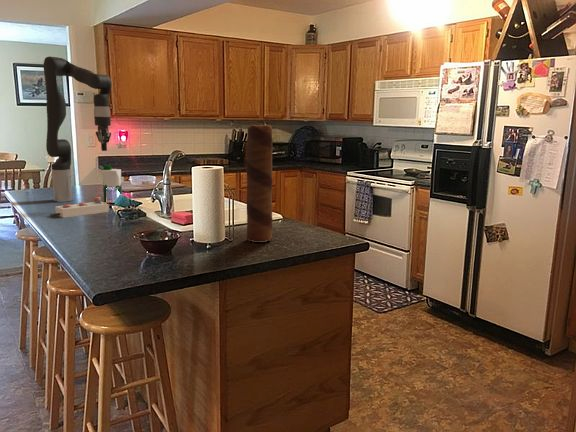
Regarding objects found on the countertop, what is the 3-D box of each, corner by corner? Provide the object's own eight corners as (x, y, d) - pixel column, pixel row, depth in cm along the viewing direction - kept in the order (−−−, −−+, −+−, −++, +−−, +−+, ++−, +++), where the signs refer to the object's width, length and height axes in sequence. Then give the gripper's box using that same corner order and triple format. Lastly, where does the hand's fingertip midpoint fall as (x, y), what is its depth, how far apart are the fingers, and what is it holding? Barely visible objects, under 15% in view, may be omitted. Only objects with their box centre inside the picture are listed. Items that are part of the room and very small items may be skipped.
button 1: (62, 210, 226) (61, 204, 225) (68, 209, 228) (68, 204, 228) (64, 211, 224) (64, 205, 223) (71, 210, 226) (71, 205, 226)
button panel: (47, 215, 224) (46, 206, 223) (101, 209, 243) (100, 200, 242) (54, 219, 218) (53, 209, 217) (109, 211, 236) (108, 202, 235)
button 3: (93, 202, 236) (93, 197, 236) (99, 201, 238) (99, 196, 238) (96, 203, 234) (95, 198, 234) (102, 202, 236) (101, 197, 236)
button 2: (78, 208, 231) (78, 203, 231) (84, 207, 233) (84, 202, 233) (80, 209, 229) (80, 203, 229) (87, 208, 231) (86, 203, 231)
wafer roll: (248, 244, 182) (249, 124, 173) (243, 238, 192) (244, 124, 183) (275, 243, 185) (277, 125, 176) (269, 236, 195) (270, 124, 186)
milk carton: (108, 200, 265) (106, 164, 261) (124, 201, 265) (122, 165, 261) (101, 203, 257) (99, 166, 253) (118, 204, 257) (116, 166, 252)
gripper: (89, 115, 241) (91, 150, 244) (100, 116, 232) (102, 152, 235) (103, 115, 246) (105, 149, 250) (115, 116, 237) (117, 151, 241)
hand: (104, 150), depth 242 cm, fingers closed
